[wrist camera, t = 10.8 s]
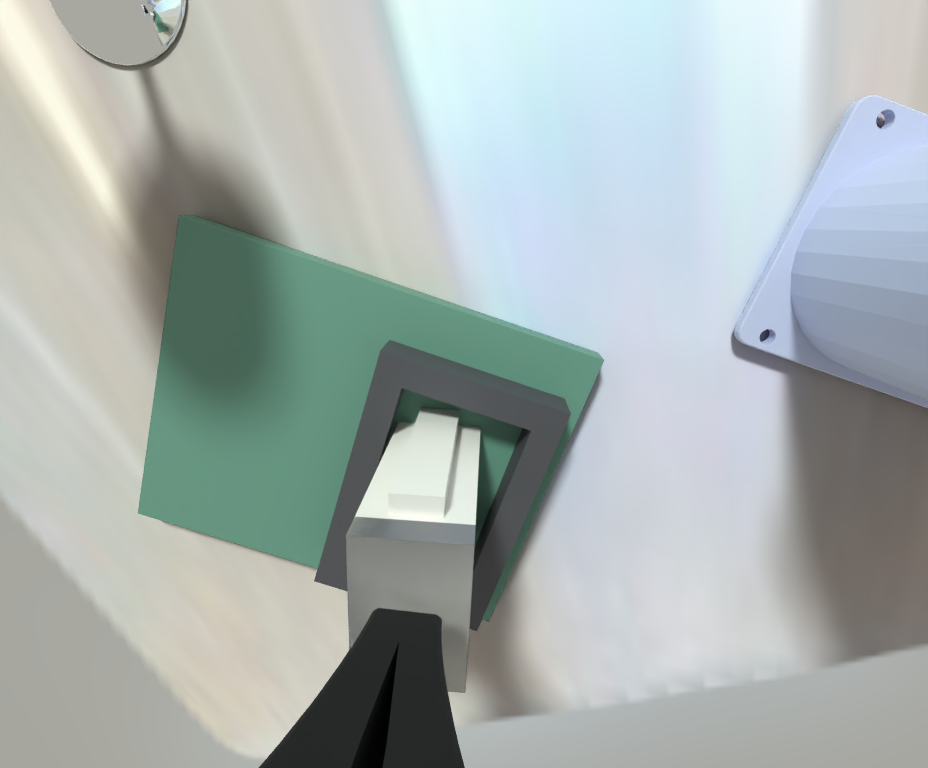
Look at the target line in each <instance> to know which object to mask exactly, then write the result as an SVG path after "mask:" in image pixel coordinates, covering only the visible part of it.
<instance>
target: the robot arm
mask: <svg viewBox="0 0 928 768" xmlns="http://www.w3.org/2000/svg"><path fill="white" fill-rule="evenodd" d="M880 112H881V113H882V114H883V115H884V117H885V122H884V125H883V126H882V127H881V129H880V128H879V127H878V126H877V124H876V119H877V116H878V115H879V114H880ZM766 329H768V330H769V337H768V338H767V339H766V340H765V341H762V342H760V339H759V337H760V334H761V333H762V332H763V331H764V330H766ZM734 334H735V337H736V339H737V340H738V341H739V342H741V343H743V344H745V345H747V346H750V347H753V348H756V349H758V350H761V351H764V352H767V353H770V354H773V355H776V356H779V357H781V358H784V359H787V360H790V361H793V362H796V363H799V364H802V365H805V366H807V367H810V368H813V369H816V370H819V371H822V372H825V373H828V374H830V375H833V376H836V377H839V378H842V379H845V380H848V381H851V382H853V383H856V384H859V385H862V386H865V387H868V388H871V389H874V390H876V391H879V392H882V393H885V394H888V395H891V396H894V397H897V398H899V399H902V400H905V401H908V402H911V403H914V404H917V405H920V406H922V407H925V408H928V114H925V113H922V112H920V111H917V110H915V109H912V108H909V107H907V106H904V105H901V104H899V103H896V102H894V101H891V100H888V99H886V98H883V97H880V96H876V95H871V96H867V97H864V98H861V99H858V100H857V101H855V102H854V103H852V104H851V106H850V107H849V108H848V110H847V112H846V113H845V115H844V117H843V119H842V121H841V123H840V125H839V127H838V129H837V131H836V133H835V135H834V137H833V139H832V141H831V142H830V144H829V146H828V148H827V150H826V152H825V154H824V156H823V158H822V160H821V162H820V164H819V166H818V168H817V170H816V171H815V173H814V175H813V177H812V179H811V181H810V183H809V185H808V187H807V189H806V191H805V193H804V195H803V197H802V198H801V200H800V202H799V204H798V206H797V208H796V210H795V212H794V214H793V216H792V218H791V220H790V222H789V224H788V226H787V227H786V229H785V231H784V233H783V235H782V237H781V239H780V241H779V243H778V245H777V247H776V249H775V251H774V253H773V255H772V256H771V258H770V260H769V262H768V264H767V266H766V268H765V270H764V272H763V274H762V276H761V278H760V280H759V282H758V283H757V285H756V287H755V289H754V291H753V293H752V295H751V297H750V299H749V301H748V303H747V305H746V307H745V309H744V311H743V312H742V314H741V316H740V318H739V320H738V322H737V324H736V326H735V330H734ZM441 631H442V619H441V618H440V617H439V616H438V615H437V614H428V613H419V612H411V611H402V610H393V609H384V608H377V609H375V610H374V611H373V612H372V613H371V615H370V617H369V619H368V621H367V622H366V624H365V626H364V628H363V629H362V631H361V633H360V634H359V636H358V638H357V639H356V641H355V642H354V644H353V645H352V647H351V649H350V650H349V652H348V653H347V655H346V656H345V658H344V659H343V661H342V662H341V664H340V665H339V666H338V668H337V669H336V671H335V672H334V673H333V675H332V676H331V678H330V679H329V680H328V682H327V683H326V684H325V686H324V687H323V689H322V690H321V691H320V693H319V694H318V696H317V697H316V698H315V700H314V701H313V702H312V704H311V705H310V706H309V707H308V709H307V710H306V711H305V712H304V714H303V715H302V716H301V717H300V719H299V720H298V721H297V722H296V724H295V725H294V726H293V727H292V729H291V730H290V731H289V732H288V734H287V735H286V736H285V737H284V739H283V740H282V741H281V742H280V744H279V745H278V746H277V747H276V748H275V749H274V751H273V752H272V753H271V754H270V755H269V756H268V758H267V759H266V760H265V761H264V762H263V763H262V765H261V766H260V767H259V768H465V767H464V763H463V759H462V756H461V752H460V748H459V744H458V740H457V735H456V731H455V727H454V722H453V717H452V712H451V707H450V702H449V697H448V691H447V685H446V679H445V672H444V664H443V655H442V639H441Z"/></svg>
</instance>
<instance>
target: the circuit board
mask: <svg viewBox="0 0 928 768" xmlns="http://www.w3.org/2000/svg"><path fill="white" fill-rule="evenodd" d="M603 362H604V359H603V358H602V357H601V356H600V355H599V353H597V352H594V351H591V350H588V349H585V348H582V347H579V346H576V345H574V344H571V343H568V342H565V341H562V340H559V339H556V338H553V337H550V336H547V335H544V334H541V333H538V332H535V331H532V330H530V329H527V328H524V327H521V326H518V325H515V324H512V323H509V322H506V321H503V320H500V319H497V318H494V317H491V316H488V315H486V314H483V313H480V312H477V311H474V310H471V309H468V308H465V307H462V306H459V305H456V304H453V303H450V302H447V301H445V300H442V299H439V298H436V297H433V296H430V295H427V294H424V293H421V292H418V291H415V290H412V289H409V288H406V287H403V286H401V285H398V284H395V283H392V282H389V281H386V280H383V279H380V278H377V277H374V276H371V275H368V274H365V273H362V272H360V271H357V270H354V269H351V268H348V267H345V266H342V265H339V264H336V263H333V262H330V261H327V260H324V259H321V258H318V257H316V256H313V255H310V254H307V253H304V252H301V251H298V250H295V249H292V248H289V247H286V246H283V245H280V244H277V243H275V242H272V241H269V240H266V239H263V238H260V237H257V236H254V235H251V234H248V233H245V232H242V231H239V230H236V229H233V228H231V227H228V226H225V225H222V224H219V223H216V222H213V221H210V220H207V219H204V218H201V217H198V216H186V215H179V219H178V227H177V234H176V241H175V248H174V256H173V263H172V270H171V277H170V285H169V292H168V299H167V306H166V313H165V321H164V328H163V335H162V342H161V350H160V357H159V364H158V371H157V379H156V386H155V393H154V400H153V407H152V415H151V422H150V429H149V436H148V444H147V451H146V458H145V465H144V473H143V480H142V487H141V494H140V501H139V509H138V513H139V514H142V515H145V516H148V517H151V518H155V519H158V520H161V521H164V522H168V523H171V524H174V525H177V526H181V527H184V528H187V529H190V530H194V531H197V532H200V533H203V534H207V535H210V536H213V537H216V538H220V539H223V540H226V541H229V542H233V543H236V544H239V545H242V546H246V547H249V548H252V549H255V550H259V551H262V552H265V553H268V554H271V555H275V556H278V557H281V558H284V559H288V560H291V561H294V562H297V563H301V564H304V565H307V566H310V567H314V568H317V569H318V570H317V573H316V577H315V580H314V581H316V582H319V583H322V584H325V585H329V586H332V587H335V588H338V589H342V590H345V591H348V589H347V558H346V534H347V532H348V530H349V528H350V526H351V524H352V521H353V519H354V517H355V515H356V513H357V511H358V509H359V506H360V504H361V502H362V500H363V498H364V496H365V493H366V491H367V489H368V487H369V485H370V483H371V481H372V478H373V476H374V474H375V472H376V470H377V468H378V466H379V463H380V461H381V459H382V457H383V455H384V453H385V451H386V448H387V446H388V444H389V442H390V440H391V438H392V436H393V433H394V431H395V429H396V427H397V425H398V423H399V422H411V423H415V422H416V419H417V417H418V414H419V412H420V409H421V408H432V409H449V410H459V426H475V427H481V429H480V448H479V468H478V487H477V507H476V526H475V546H474V562H473V578H472V594H471V610H470V626H469V629H472V630H475V631H477V629H478V627H479V625H480V623H481V620H486V621H489V620H490V618H491V616H492V614H493V611H494V609H495V607H496V604H497V602H498V600H499V598H500V595H501V593H502V591H503V589H504V586H505V584H506V582H507V580H508V577H509V575H510V573H511V570H512V568H513V566H514V564H515V561H516V559H517V557H518V555H519V552H520V550H521V548H522V545H523V543H524V541H525V539H526V536H527V534H528V532H529V530H530V527H531V525H532V523H533V520H534V518H535V516H536V514H537V511H538V509H539V507H540V505H541V502H542V500H543V498H544V496H545V493H546V491H547V489H548V486H549V484H550V482H551V480H552V477H553V475H554V473H555V471H556V468H557V466H558V464H559V461H560V459H561V457H562V455H563V452H564V450H565V448H566V446H567V443H568V441H569V439H570V436H571V434H572V432H573V430H574V427H575V425H576V423H577V421H578V418H579V416H580V414H581V412H582V409H583V407H584V405H585V402H586V400H587V398H588V396H589V393H590V391H591V389H592V387H593V384H594V382H595V380H596V377H597V375H598V373H599V371H600V368H601V366H602V364H603Z"/></svg>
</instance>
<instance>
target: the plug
mask: <svg viewBox="0 0 928 768" xmlns="http://www.w3.org/2000/svg"><path fill="white" fill-rule="evenodd" d="M480 429H481V427H475V426H459V410H449V409H432V408H421V409H420V412H419V414H418V417H417V419H416V422H415V423H411V422H399V423H398V425H397V427H396V429H395V431H394V433H393V436H392V438H391V440H390V442H389V444H388V446H387V448H386V451H385V453H384V455H383V457H382V459H381V461H380V463H379V466H378V468H377V470H376V472H375V474H374V476H373V478H372V481H371V483H370V485H369V487H368V489H367V491H366V493H365V496H364V498H363V500H362V502H361V504H360V506H359V509H358V511H357V513H356V515H355V517H354V519H353V521H352V524H351V526H350V528H349V530H348V532H347V534H346V558H347V589H348V620H349V650H350V649H351V647H352V645H353V644H354V642H355V641H356V639H357V638H358V636H359V634H360V633H361V631H362V629H363V628H364V626H365V624H366V622H367V621H368V619H369V617H370V615H371V613H372V612H373V611H374V610H375V609H377V608H384V609H393V610H402V611H411V612H419V613H428V614H437V615H438V616H439V617H440V618H441V619H442V631H441V639H442V655H443V664H444V672H445V679H446V685H447V691H449V692H461V693H465V691H466V675H467V659H468V643H469V626H470V610H471V594H472V578H473V562H474V546H475V526H476V507H477V487H478V468H479V448H480Z"/></svg>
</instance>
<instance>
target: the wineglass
mask: <svg viewBox="0 0 928 768" xmlns="http://www.w3.org/2000/svg"><path fill="white" fill-rule="evenodd" d="M49 1H50V4H51V6H52V8H53V10H54V12H55V14H56V16H57V18H58V19H59V21H60V23H61V24H62V26H63V27H64V28H65V30H66V31H67V32H68V33H69V35H70V36H71V37H72V38H73V39H74V40H75V41H76V42H77V43H78V44H79V45H80V46H81V47H83V48H84V49H85V50H87V51H88V52H90V53H91V54H93V55H94V56H96V57H97V58H100V59H102V60H105V61H107V62H110V63H112V64H118V65H124V66H132V65H141V64H144V63H147V62H149V61H152V60H154V59H156V58H157V57H159V56H160V55H161V54H163V53H164V52H165V51H166V50H167V49H168V48H169V47H170V46H171V44H172V43H173V41H174V40H175V38H176V37H177V35H178V33H179V30H180V28H181V25H182V22H183V18H184V15H185V7H186V0H49Z"/></svg>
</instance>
